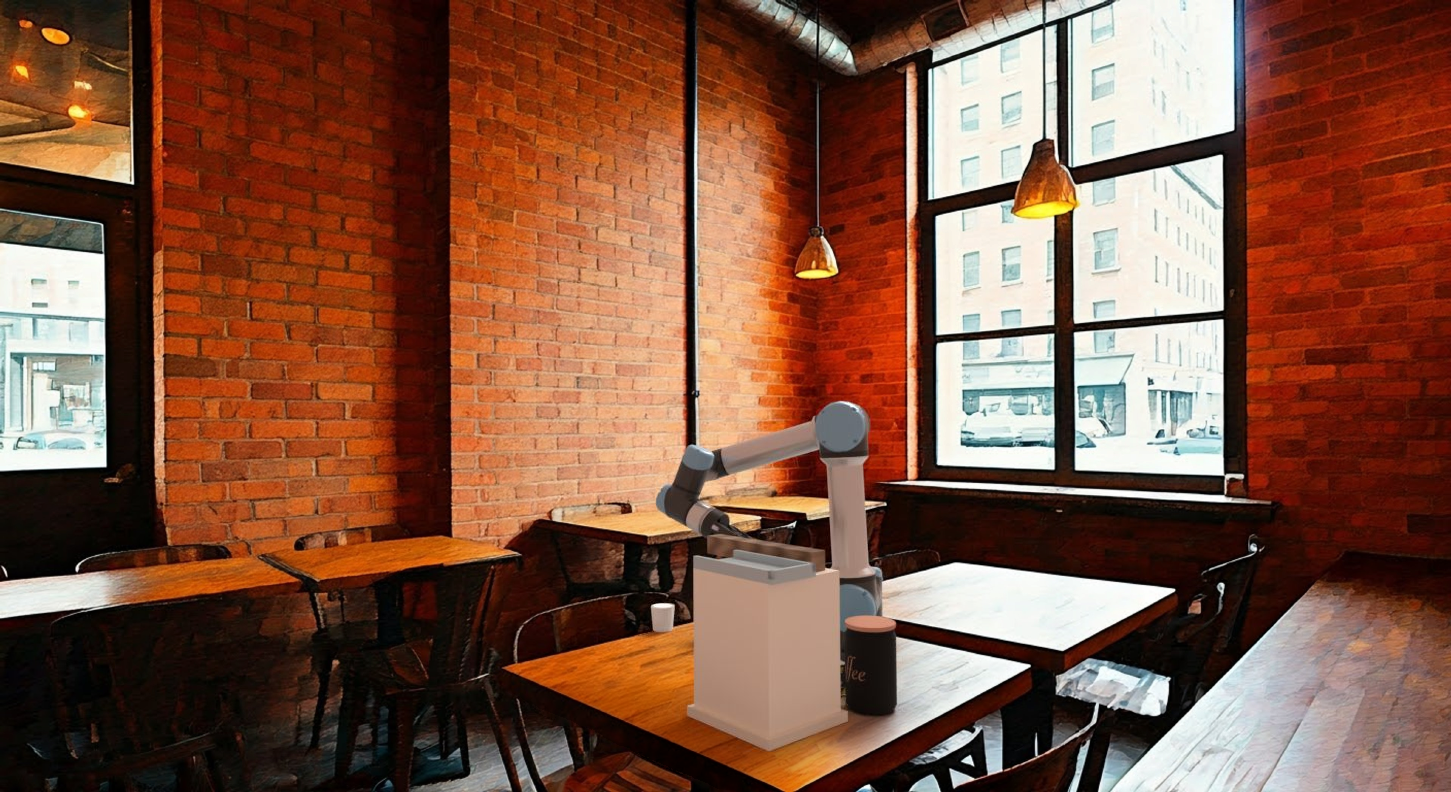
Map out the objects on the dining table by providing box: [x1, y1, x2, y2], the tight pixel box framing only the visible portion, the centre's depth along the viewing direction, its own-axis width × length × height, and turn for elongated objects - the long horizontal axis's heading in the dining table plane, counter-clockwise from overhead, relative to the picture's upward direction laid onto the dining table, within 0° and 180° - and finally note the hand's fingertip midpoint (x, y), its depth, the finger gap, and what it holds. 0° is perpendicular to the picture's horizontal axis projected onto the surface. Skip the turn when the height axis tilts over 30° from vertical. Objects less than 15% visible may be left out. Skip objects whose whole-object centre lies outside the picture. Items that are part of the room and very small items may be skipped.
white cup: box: [650, 602, 675, 633], centre depth 233 cm, size 7×7×7 cm
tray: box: [692, 550, 816, 585], centre depth 161 cm, size 23×12×2 cm, turn 41°
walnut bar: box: [706, 534, 826, 572], centre depth 173 cm, size 32×4×4 cm, turn 42°
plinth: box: [686, 567, 849, 752], centre depth 164 cm, size 24×22×30 cm
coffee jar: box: [844, 616, 898, 717], centre depth 169 cm, size 11×11×18 cm
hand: (778, 560), depth 189 cm, fingers open, 13 cm apart
